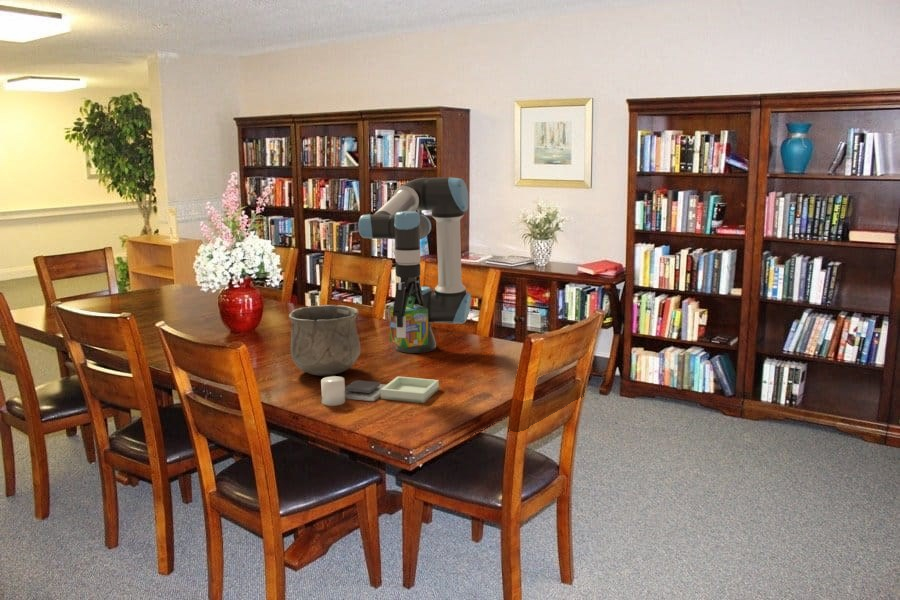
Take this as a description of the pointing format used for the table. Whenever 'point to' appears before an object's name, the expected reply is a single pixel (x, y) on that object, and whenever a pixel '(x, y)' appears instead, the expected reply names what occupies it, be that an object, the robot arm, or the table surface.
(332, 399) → the white cylinder
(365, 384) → the checker plate
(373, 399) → the checker base
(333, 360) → the pot
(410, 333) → the chalk box
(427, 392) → the trough tray
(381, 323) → the table surface
